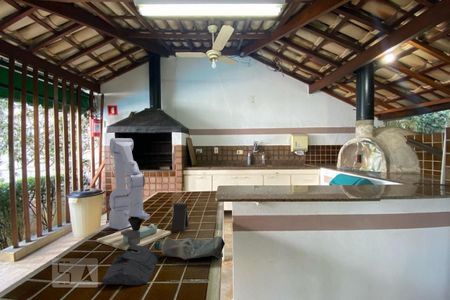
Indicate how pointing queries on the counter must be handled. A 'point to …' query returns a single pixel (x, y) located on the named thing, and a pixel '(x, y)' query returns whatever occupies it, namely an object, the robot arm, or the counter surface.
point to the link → (143, 232)
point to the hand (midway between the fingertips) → (136, 234)
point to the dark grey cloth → (132, 266)
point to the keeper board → (124, 245)
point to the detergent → (191, 247)
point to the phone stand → (180, 216)
